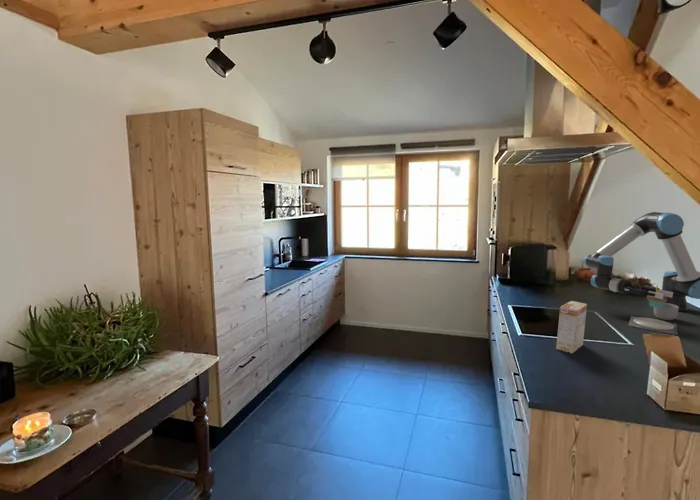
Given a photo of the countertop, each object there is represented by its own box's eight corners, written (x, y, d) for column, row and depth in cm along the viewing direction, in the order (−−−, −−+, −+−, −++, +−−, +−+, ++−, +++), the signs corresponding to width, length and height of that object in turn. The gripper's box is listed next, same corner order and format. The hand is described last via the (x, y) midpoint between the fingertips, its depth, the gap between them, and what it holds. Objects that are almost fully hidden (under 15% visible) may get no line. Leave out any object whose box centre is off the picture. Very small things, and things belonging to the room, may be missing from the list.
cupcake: (663, 309, 196) (666, 287, 194) (643, 305, 202) (646, 283, 201) (667, 307, 201) (670, 284, 199) (647, 303, 208) (650, 281, 206)
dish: (630, 317, 217) (631, 314, 217) (676, 325, 205) (677, 322, 204) (628, 326, 202) (628, 322, 202) (677, 335, 189) (678, 331, 189)
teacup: (681, 322, 210) (683, 308, 209) (659, 320, 212) (661, 306, 211) (666, 314, 223) (668, 301, 222) (645, 313, 225) (647, 300, 224)
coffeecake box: (566, 340, 179) (570, 300, 177) (583, 345, 174) (588, 303, 172) (555, 349, 169) (559, 306, 167) (572, 354, 164) (577, 310, 161)
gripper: (630, 290, 222) (677, 300, 201) (608, 294, 213) (655, 305, 193) (632, 278, 221) (679, 287, 200) (610, 280, 212) (657, 290, 191)
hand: (667, 295), depth 196 cm, fingers closed on cupcake, 8 cm apart
